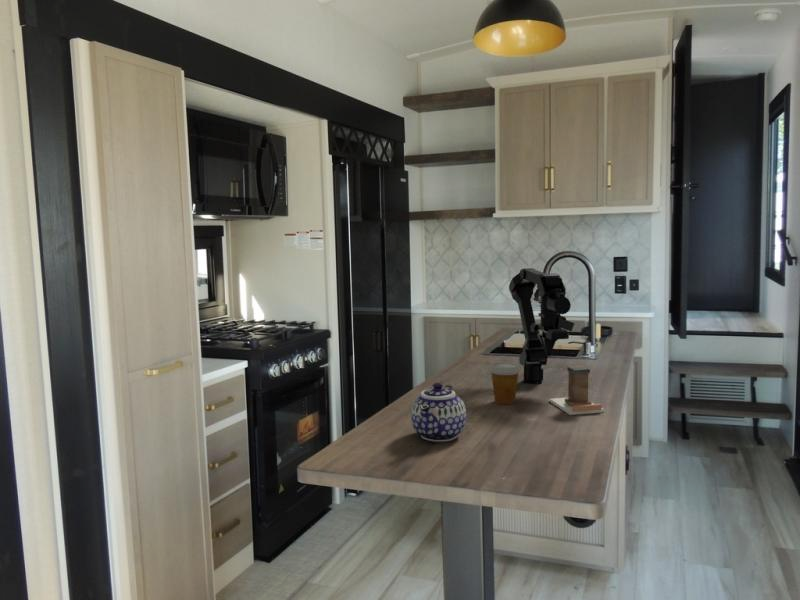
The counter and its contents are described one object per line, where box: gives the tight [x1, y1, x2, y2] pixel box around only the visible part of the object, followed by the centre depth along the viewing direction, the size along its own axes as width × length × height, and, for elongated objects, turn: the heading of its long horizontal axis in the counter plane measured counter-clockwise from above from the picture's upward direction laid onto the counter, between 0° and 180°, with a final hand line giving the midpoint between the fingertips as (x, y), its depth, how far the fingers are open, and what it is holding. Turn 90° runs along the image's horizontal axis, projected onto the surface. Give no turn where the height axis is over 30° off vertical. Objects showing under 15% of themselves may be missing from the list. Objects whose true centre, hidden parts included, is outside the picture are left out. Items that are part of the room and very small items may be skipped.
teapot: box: [410, 382, 467, 442], centre depth 181 cm, size 25×15×15 cm, turn 155°
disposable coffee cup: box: [489, 362, 521, 405], centre depth 215 cm, size 10×10×12 cm
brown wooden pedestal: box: [564, 365, 593, 406], centre depth 206 cm, size 6×6×11 cm
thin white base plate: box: [549, 397, 605, 416], centre depth 208 cm, size 15×11×2 cm
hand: (548, 355), depth 228 cm, fingers closed
